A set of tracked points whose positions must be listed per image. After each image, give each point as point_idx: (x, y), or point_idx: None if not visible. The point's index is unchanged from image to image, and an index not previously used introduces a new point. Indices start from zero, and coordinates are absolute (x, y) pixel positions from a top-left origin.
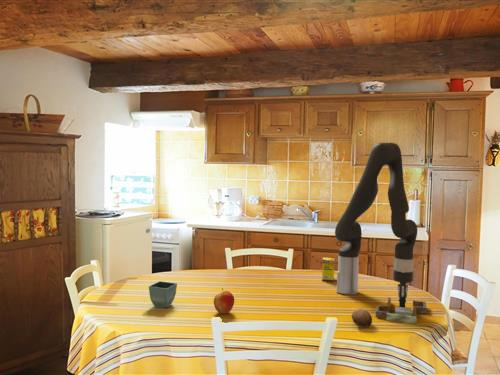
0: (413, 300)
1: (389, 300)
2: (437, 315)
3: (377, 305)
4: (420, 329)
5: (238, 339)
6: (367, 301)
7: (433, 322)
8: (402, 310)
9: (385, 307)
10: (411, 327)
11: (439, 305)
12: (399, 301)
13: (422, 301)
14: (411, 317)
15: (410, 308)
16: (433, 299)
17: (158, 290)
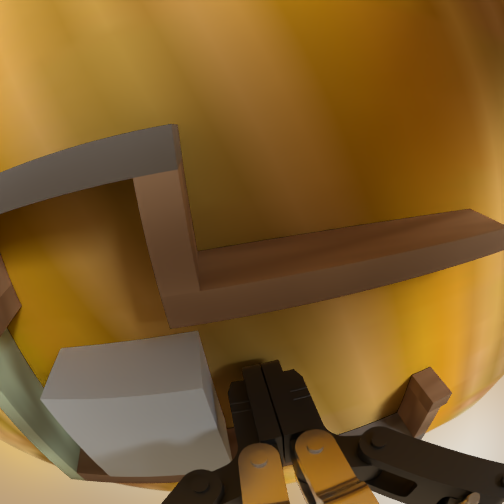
0: (443, 398)
1: (442, 259)
2: (292, 475)
3: (128, 140)
4: (26, 447)
5: None
6: (450, 20)
7: (168, 484)
8: (108, 441)
9: (157, 264)
10: (9, 422)
11: (434, 427)
12: (179, 484)
13: (425, 431)
14: (54, 459)
15: (213, 468)
16: (494, 381)
17: None
